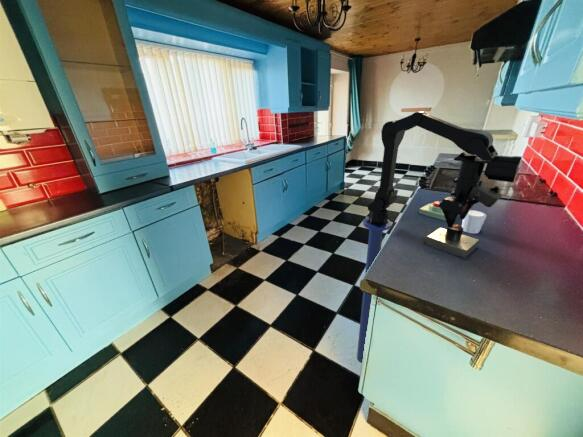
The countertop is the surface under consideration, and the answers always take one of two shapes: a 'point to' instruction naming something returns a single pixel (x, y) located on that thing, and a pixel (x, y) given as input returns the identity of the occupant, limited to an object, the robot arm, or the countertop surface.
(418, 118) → the robot arm
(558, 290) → the countertop surface
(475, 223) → the white tapered cup
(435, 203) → the lock button
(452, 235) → the knob
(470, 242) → the panel
